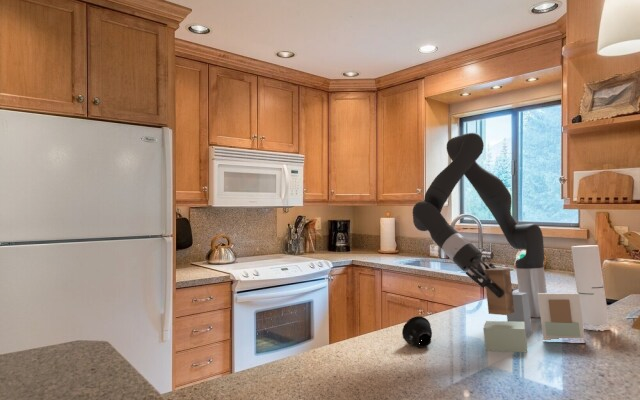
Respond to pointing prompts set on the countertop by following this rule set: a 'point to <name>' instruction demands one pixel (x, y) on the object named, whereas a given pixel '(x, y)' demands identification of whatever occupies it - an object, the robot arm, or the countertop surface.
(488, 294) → the walnut block
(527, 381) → the countertop surface
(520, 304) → the slate block
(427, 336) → the small rounded object
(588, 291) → the cylindrical container
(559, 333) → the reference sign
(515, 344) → the sage base block
